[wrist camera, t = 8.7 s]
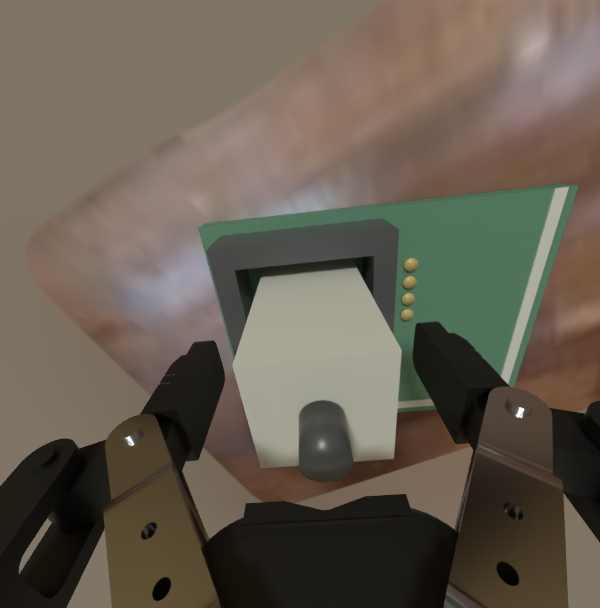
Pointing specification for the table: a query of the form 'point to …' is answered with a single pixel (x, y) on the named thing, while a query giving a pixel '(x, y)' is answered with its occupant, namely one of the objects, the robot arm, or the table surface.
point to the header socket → (303, 249)
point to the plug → (318, 370)
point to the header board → (455, 268)
